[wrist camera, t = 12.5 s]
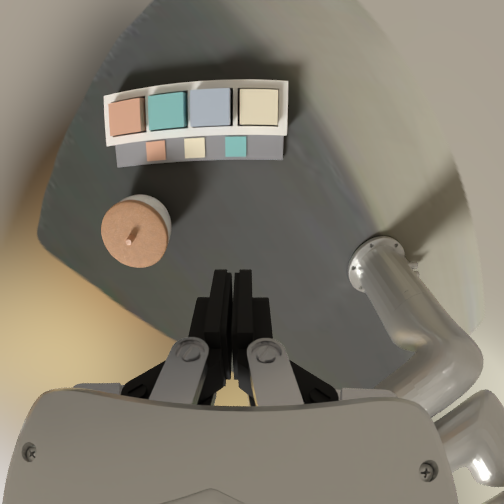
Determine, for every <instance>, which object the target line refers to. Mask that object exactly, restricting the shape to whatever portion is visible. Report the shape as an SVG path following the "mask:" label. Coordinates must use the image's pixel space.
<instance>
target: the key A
mask: <svg viewBox="0 0 504 504" xmlns="http://www.w3.org/2000/svg"><path fill="white" fill-rule="evenodd" d="M108 107H109V127H110V136H115V135H121V134H127V133H134V132H141V131H145V130H146V109H145V98H135V99H129V100H124V101H119V102H114V103H110V104H108Z"/></svg>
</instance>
